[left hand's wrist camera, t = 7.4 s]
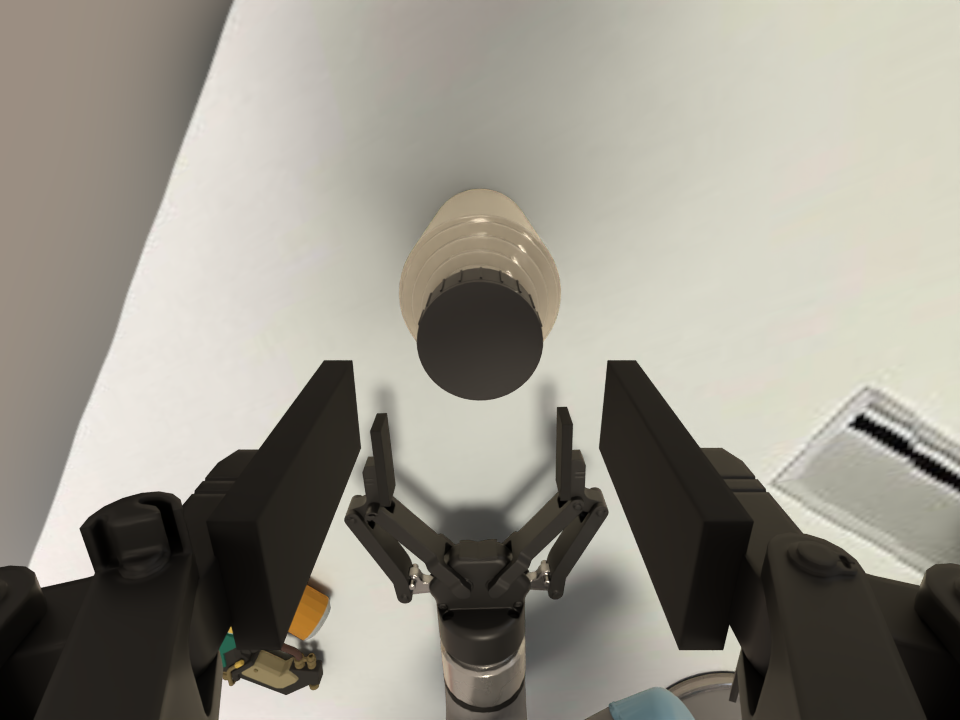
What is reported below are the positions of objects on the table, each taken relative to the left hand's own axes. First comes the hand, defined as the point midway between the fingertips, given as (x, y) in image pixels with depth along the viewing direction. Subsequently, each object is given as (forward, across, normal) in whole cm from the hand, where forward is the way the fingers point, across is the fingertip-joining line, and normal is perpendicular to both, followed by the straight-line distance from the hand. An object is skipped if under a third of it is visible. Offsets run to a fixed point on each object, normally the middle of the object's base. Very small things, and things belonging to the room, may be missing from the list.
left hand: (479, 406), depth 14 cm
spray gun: (+28, +22, +38) cm, 52 cm away
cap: (+5, 0, 0) cm, 5 cm away
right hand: (+21, +1, +12) cm, 24 cm away
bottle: (+28, 0, 0) cm, 28 cm away
